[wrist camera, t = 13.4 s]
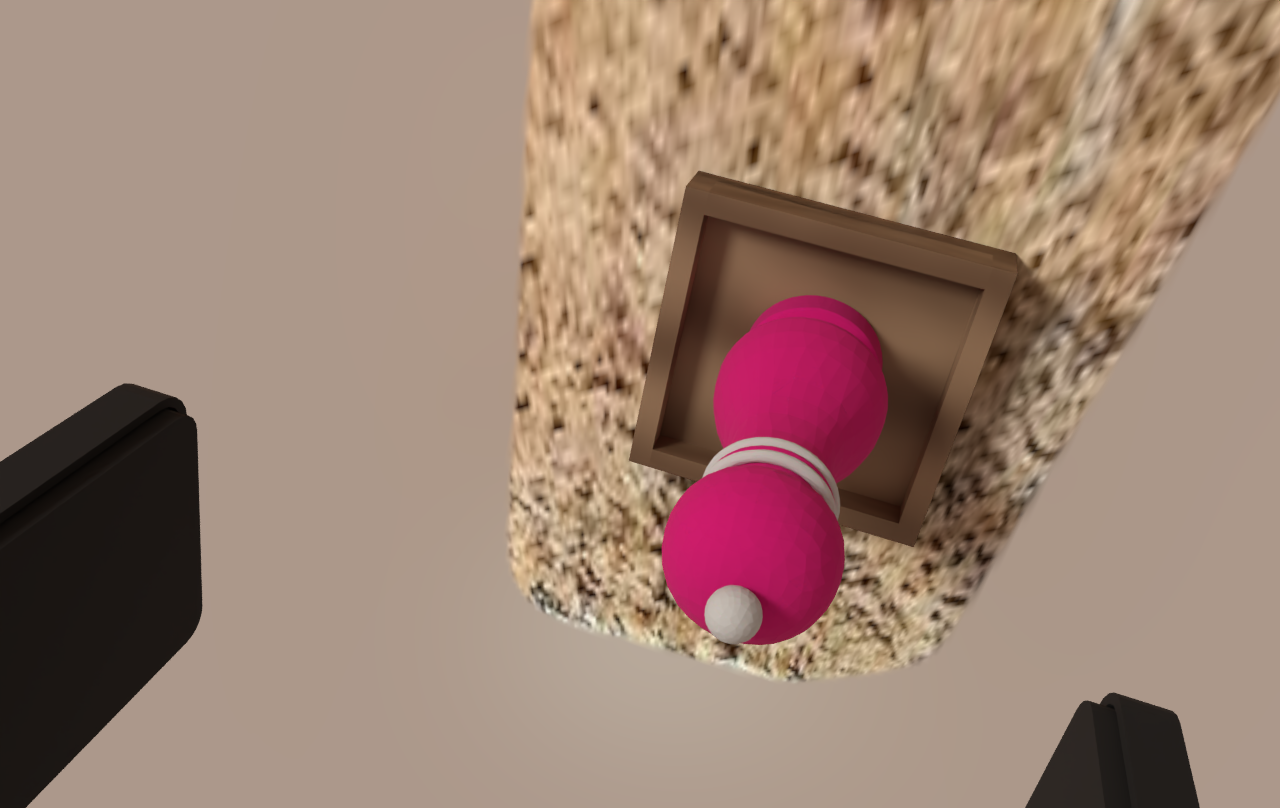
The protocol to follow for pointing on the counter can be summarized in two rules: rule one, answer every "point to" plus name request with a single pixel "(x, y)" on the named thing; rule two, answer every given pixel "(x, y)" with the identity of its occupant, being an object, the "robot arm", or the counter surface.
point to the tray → (845, 271)
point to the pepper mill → (778, 473)
